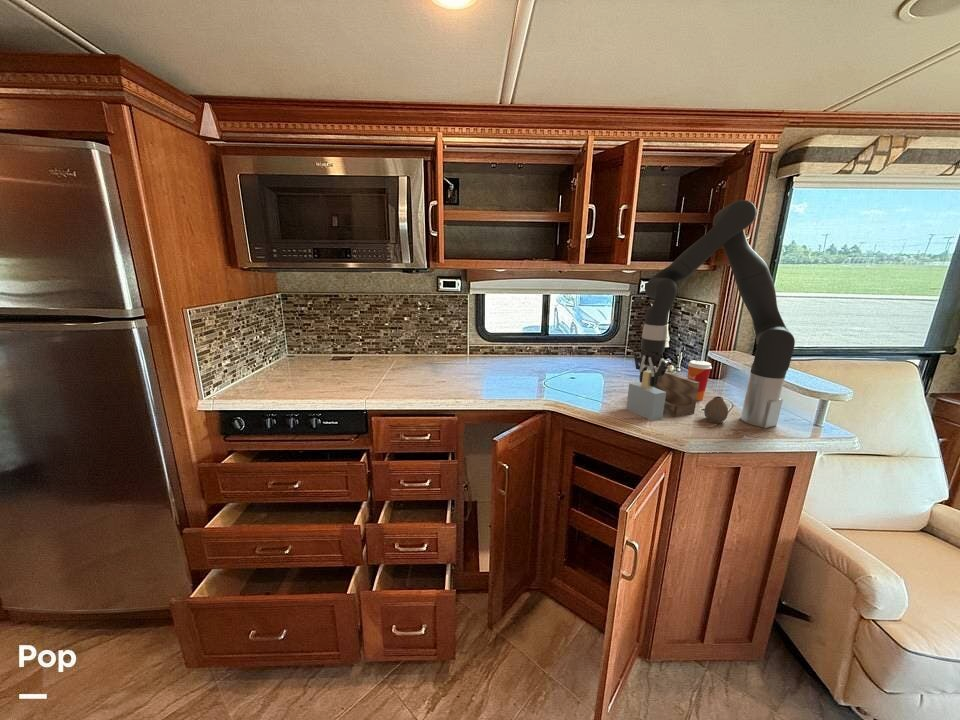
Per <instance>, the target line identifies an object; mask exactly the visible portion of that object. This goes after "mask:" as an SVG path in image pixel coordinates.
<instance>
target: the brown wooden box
mask: <svg viewBox="0 0 960 720" xmlns="http://www.w3.org/2000/svg"><path fill="white" fill-rule="evenodd" d="M655 373H656V372H655ZM699 383H700V382H697V381H694V380H691V379H688V377H685V376H682V375H679V374H675V373H673V372H669V371H666V372H665V374H664V375H663V376H659V377H658V381H657V385H656V386H654V388H657V389H660V390H662V391H665V392H666V397H665V404H664V411H663V414H665V415H667V416H669V417H674V418H679V417H685V416H687V415H689V416H690V415H693V414H695V410H696V404H697V401H696V400H697V394H698V389H699Z"/></svg>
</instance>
